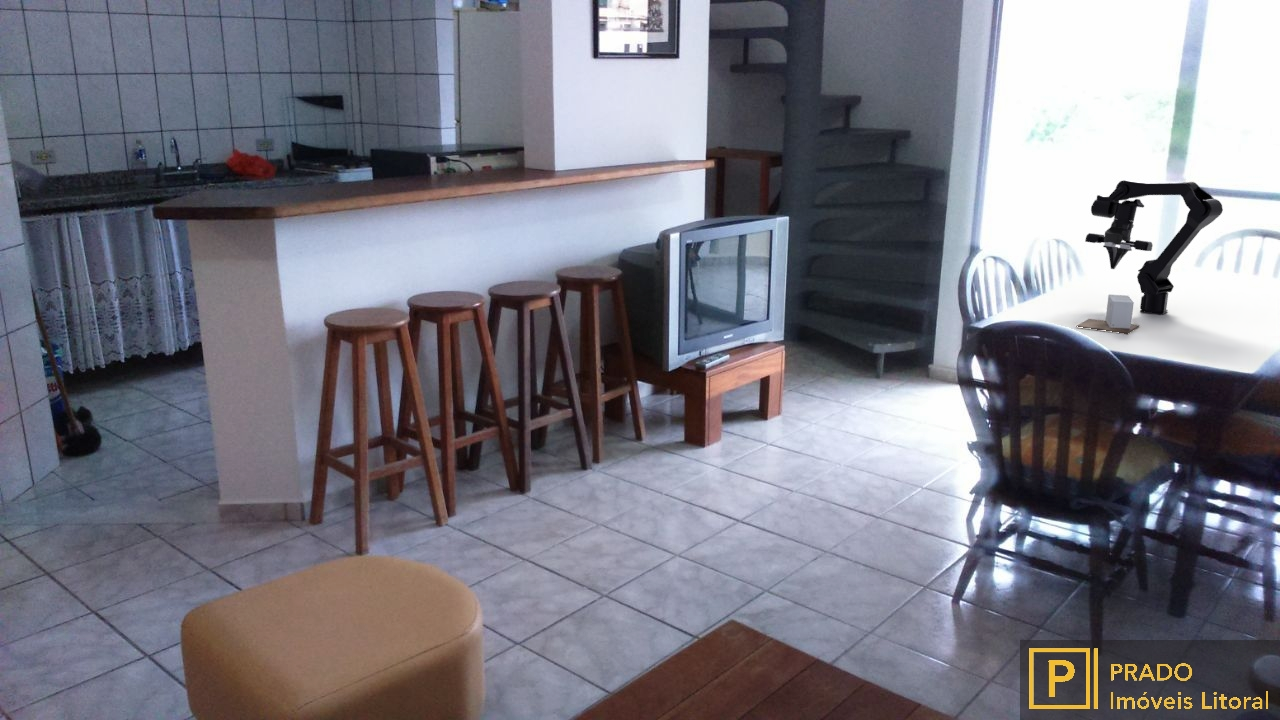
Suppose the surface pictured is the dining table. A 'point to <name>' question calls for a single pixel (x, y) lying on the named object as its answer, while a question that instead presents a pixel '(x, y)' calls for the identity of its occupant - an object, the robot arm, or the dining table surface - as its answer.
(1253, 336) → the dining table surface
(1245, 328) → the dining table surface
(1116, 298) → the small box
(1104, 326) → the walnut board
